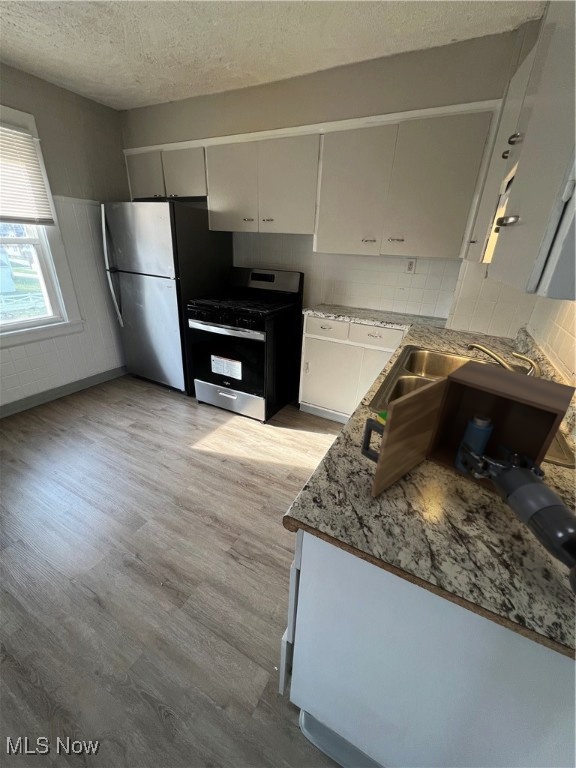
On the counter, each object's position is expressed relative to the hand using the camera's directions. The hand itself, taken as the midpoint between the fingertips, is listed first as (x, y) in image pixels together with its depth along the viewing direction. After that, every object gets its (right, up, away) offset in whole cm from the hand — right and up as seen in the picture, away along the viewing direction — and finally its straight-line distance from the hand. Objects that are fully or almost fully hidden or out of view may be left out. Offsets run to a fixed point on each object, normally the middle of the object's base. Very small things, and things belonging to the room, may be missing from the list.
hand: (481, 445), depth 72 cm
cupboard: (+5, -7, +10) cm, 13 cm away
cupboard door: (-19, -7, +6) cm, 21 cm away
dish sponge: (-10, 0, +24) cm, 26 cm away
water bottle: (0, -7, +7) cm, 10 cm away
